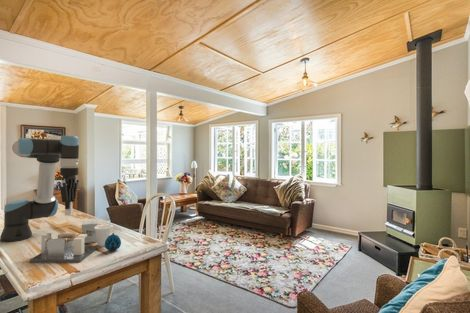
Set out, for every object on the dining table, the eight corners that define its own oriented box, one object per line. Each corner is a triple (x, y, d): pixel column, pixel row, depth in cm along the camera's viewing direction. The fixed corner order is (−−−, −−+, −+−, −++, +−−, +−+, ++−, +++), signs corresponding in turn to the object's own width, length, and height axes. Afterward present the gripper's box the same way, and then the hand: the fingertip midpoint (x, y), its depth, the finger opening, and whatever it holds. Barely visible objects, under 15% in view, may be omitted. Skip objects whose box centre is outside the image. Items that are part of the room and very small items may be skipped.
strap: (45, 241, 134) (45, 240, 134) (47, 240, 136) (47, 238, 136) (80, 240, 136) (80, 239, 136) (82, 239, 138) (82, 237, 138)
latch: (73, 255, 133) (73, 238, 133) (80, 250, 139) (80, 234, 139) (81, 255, 133) (81, 238, 133) (87, 250, 139) (87, 234, 139)
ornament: (104, 253, 140) (104, 235, 140) (104, 250, 144) (105, 232, 144) (120, 251, 143) (121, 233, 143) (120, 248, 148) (121, 231, 147)
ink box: (83, 239, 161) (83, 220, 160) (98, 237, 164) (98, 219, 164) (81, 244, 153) (81, 224, 153) (97, 242, 156) (97, 223, 156)
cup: (98, 241, 157) (98, 224, 157) (115, 241, 158) (115, 224, 157) (90, 248, 147) (91, 229, 147) (108, 247, 148) (108, 229, 147)
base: (29, 262, 126) (30, 240, 126) (53, 248, 144) (53, 229, 144) (80, 262, 128) (80, 240, 128) (96, 248, 146) (97, 229, 146)
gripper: (69, 168, 119) (68, 218, 119) (84, 166, 132) (83, 212, 132) (52, 168, 118) (52, 218, 119) (69, 166, 131) (68, 211, 132)
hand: (68, 215), depth 125 cm, fingers closed
